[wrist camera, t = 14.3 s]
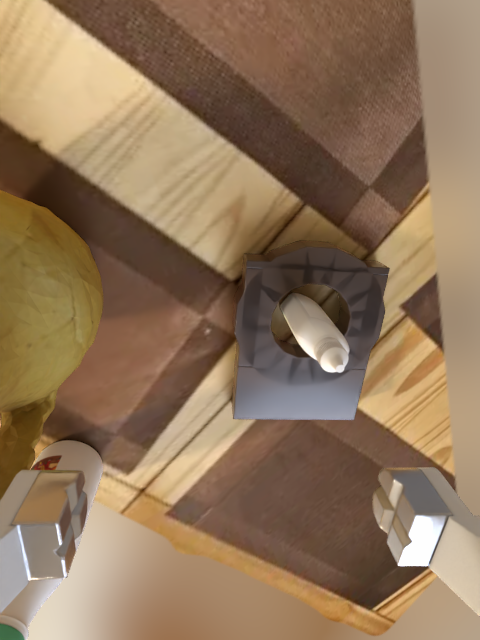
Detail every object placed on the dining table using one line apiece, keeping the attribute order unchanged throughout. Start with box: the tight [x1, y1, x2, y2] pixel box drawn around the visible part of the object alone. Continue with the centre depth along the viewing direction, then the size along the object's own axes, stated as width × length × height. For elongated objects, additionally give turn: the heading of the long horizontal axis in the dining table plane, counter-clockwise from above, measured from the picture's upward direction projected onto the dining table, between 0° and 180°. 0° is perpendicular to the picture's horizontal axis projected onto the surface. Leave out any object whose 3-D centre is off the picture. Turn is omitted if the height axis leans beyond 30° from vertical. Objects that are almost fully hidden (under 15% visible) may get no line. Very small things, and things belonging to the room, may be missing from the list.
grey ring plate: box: [232, 241, 389, 420], centre depth 40 cm, size 20×15×3 cm
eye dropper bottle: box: [280, 293, 349, 373], centre depth 35 cm, size 4×6×12 cm
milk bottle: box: [0, 440, 103, 640], centre depth 36 cm, size 8×8×20 cm
